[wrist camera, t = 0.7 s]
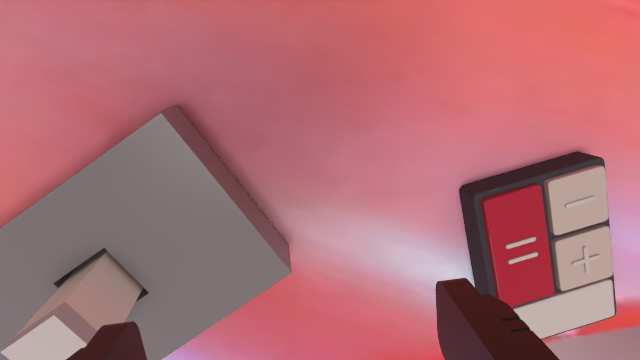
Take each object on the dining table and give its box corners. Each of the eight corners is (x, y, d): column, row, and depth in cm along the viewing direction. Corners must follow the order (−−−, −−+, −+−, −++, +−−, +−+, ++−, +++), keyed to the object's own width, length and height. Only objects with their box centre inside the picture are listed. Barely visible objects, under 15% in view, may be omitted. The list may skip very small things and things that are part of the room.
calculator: (613, 157, 31) (625, 321, 35) (573, 148, 35) (587, 295, 39) (477, 197, 31) (505, 359, 34) (453, 183, 35) (480, 329, 39)
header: (-55, 271, 31) (-108, 305, 26) (176, 104, 29) (160, 112, 25) (80, 385, 35) (54, 430, 31) (288, 245, 33) (291, 272, 29)
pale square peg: (87, 256, 31) (0, 352, 21) (124, 230, 31) (54, 315, 21) (120, 288, 32) (52, 394, 22) (156, 264, 32) (103, 359, 22)
